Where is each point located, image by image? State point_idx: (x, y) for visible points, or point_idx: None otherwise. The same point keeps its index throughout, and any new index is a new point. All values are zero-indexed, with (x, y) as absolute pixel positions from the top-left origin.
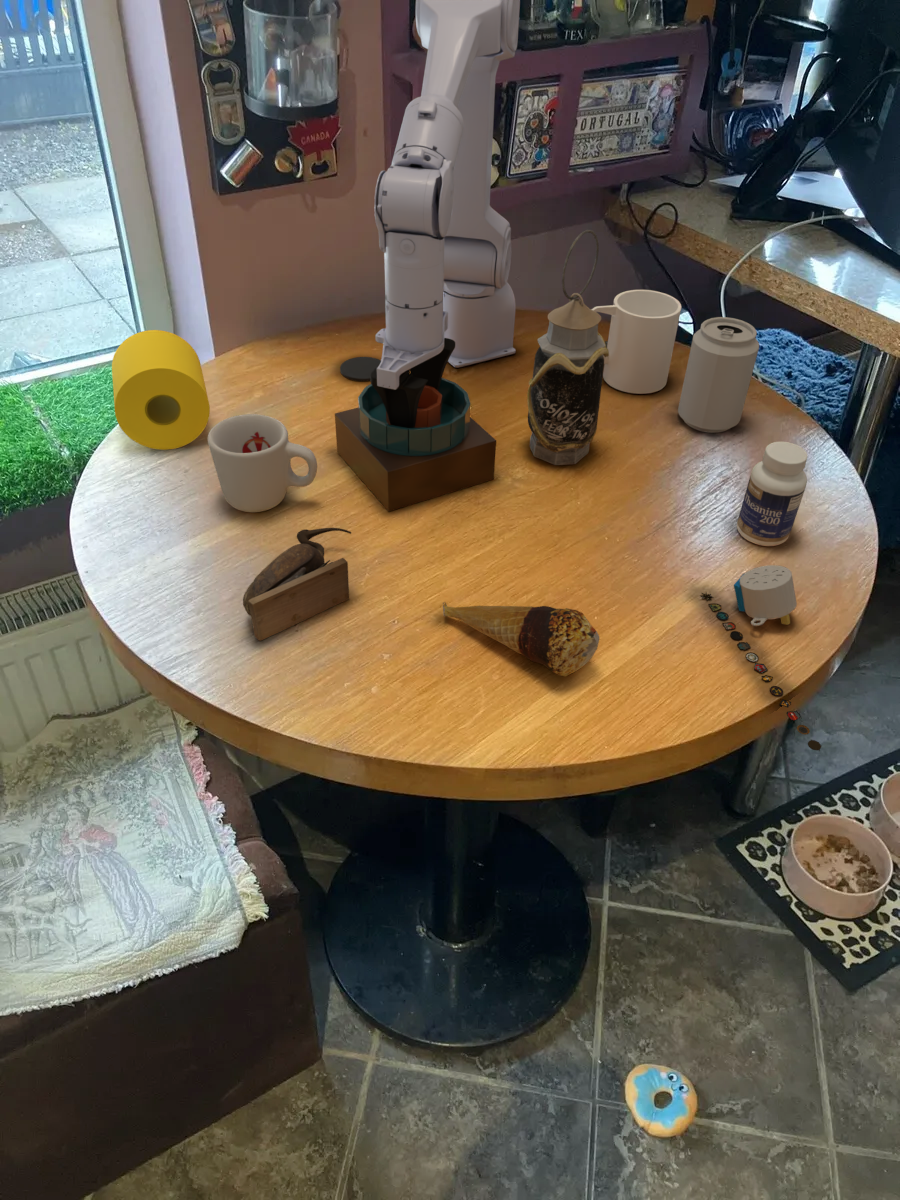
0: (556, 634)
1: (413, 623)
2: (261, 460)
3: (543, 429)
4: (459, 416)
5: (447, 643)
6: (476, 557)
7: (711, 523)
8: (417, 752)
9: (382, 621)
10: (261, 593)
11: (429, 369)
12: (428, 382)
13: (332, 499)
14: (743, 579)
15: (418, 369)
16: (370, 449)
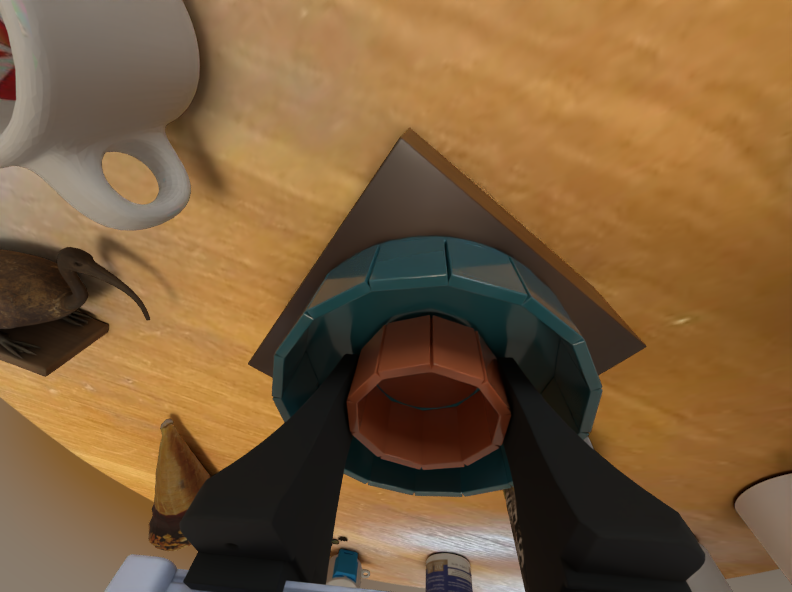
0: (148, 537)
1: (143, 394)
2: None
3: (513, 497)
4: (401, 490)
5: (150, 422)
6: (276, 417)
7: (445, 541)
8: (47, 430)
9: (118, 371)
10: None
11: (524, 490)
12: (512, 443)
13: (254, 210)
14: (337, 582)
15: (529, 458)
16: (290, 311)
